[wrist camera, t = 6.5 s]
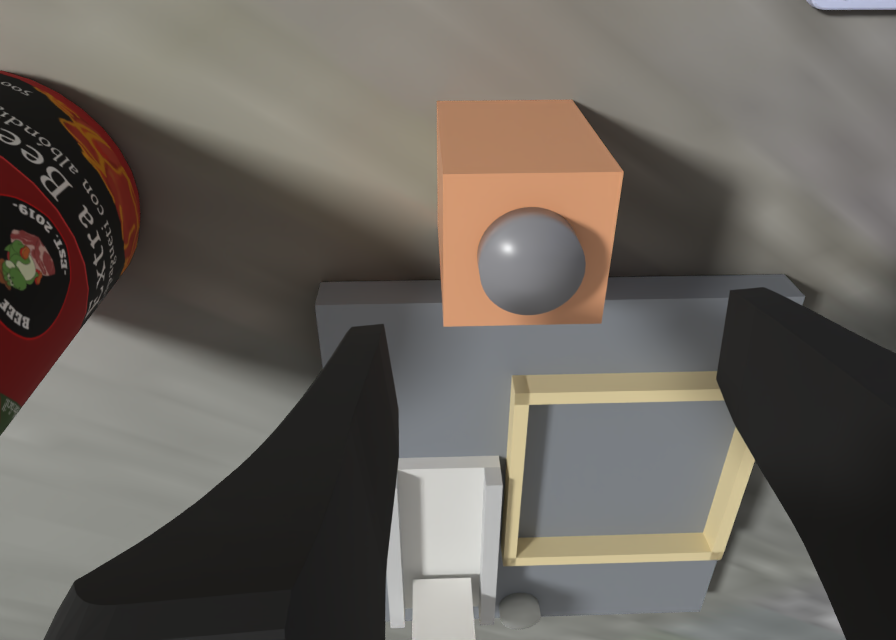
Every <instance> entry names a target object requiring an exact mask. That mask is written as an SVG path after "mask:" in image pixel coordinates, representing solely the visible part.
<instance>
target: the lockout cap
mask: <svg viewBox="0 0 896 640" xmlns="http://www.w3.org/2000/svg"><path fill="white" fill-rule="evenodd" d="M623 174H624V172H623V170H622V169H621V167H620V166H619V165H618V163H617V162H616V160H615V159H614V158H613V156H612V155H611V153H610V152H609V151H608V149H607V148H606V146H605V145H604V144H603V142H602V141H601V139H600V138H599V137H598V135H597V134H596V132H595V131H594V130H593V128H592V127H591V125H590V124H589V123H588V121H587V120H586V118H585V117H584V116H583V114H582V113H581V111H580V110H579V109H578V107H577V106H576V104H575V103H574V102H573V100H498V101H437V176H438V236H439V254H440V272H441V290H442V309H443V327H452V326H503V325H554V324H601V323H602V316H603V310H604V303H605V296H606V289H607V282H608V276H609V269H610V262H611V255H612V248H613V242H614V235H615V228H616V221H617V214H618V208H619V201H620V194H621V187H622V180H623Z"/></svg>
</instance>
